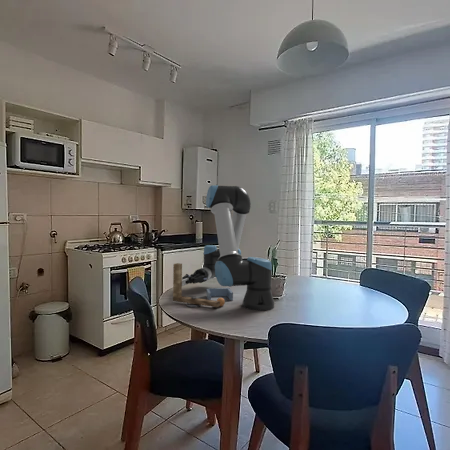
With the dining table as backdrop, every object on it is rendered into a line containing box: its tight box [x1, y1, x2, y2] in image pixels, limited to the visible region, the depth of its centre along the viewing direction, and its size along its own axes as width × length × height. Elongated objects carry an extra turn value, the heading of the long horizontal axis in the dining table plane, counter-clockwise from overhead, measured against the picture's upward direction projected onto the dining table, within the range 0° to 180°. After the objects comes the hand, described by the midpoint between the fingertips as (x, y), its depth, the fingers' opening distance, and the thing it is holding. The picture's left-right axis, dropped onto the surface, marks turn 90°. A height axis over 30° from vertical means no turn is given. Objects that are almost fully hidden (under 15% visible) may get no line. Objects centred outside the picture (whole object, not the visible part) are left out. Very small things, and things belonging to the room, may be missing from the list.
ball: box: [216, 297, 226, 307], centre depth 163 cm, size 4×4×4 cm
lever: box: [172, 262, 221, 308], centre depth 162 cm, size 24×3×18 cm, turn 67°
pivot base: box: [185, 303, 202, 308], centre depth 163 cm, size 7×7×1 cm
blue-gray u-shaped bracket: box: [205, 287, 234, 301], centre depth 177 cm, size 10×12×4 cm
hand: (181, 283), depth 170 cm, fingers closed
